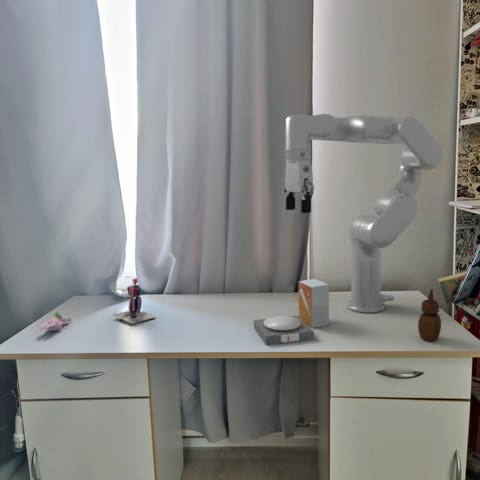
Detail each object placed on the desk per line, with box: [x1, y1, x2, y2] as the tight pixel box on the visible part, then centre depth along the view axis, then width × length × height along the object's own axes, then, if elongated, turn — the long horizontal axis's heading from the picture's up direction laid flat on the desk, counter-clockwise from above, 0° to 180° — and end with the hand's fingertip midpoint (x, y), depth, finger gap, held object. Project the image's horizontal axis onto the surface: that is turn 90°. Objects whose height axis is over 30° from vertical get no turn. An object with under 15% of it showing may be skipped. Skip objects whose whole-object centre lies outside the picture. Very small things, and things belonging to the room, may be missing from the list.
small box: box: [298, 278, 330, 329], centre depth 153 cm, size 8×6×13 cm
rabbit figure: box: [38, 310, 72, 332], centre depth 155 cm, size 6×6×15 cm
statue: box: [112, 277, 156, 326], centre depth 162 cm, size 11×9×15 cm
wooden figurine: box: [417, 288, 442, 342], centre depth 137 cm, size 7×6×15 cm
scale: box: [253, 315, 314, 346], centre depth 145 cm, size 14×15×4 cm
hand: (298, 211), depth 155 cm, fingers open, 9 cm apart
